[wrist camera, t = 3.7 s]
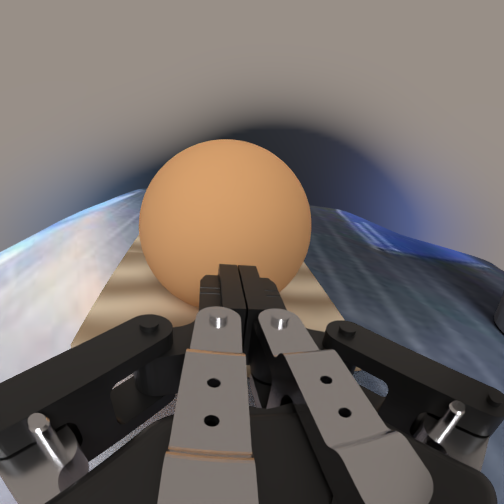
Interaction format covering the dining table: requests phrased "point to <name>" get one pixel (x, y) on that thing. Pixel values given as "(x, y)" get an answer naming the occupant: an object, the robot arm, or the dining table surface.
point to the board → (179, 312)
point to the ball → (223, 216)
